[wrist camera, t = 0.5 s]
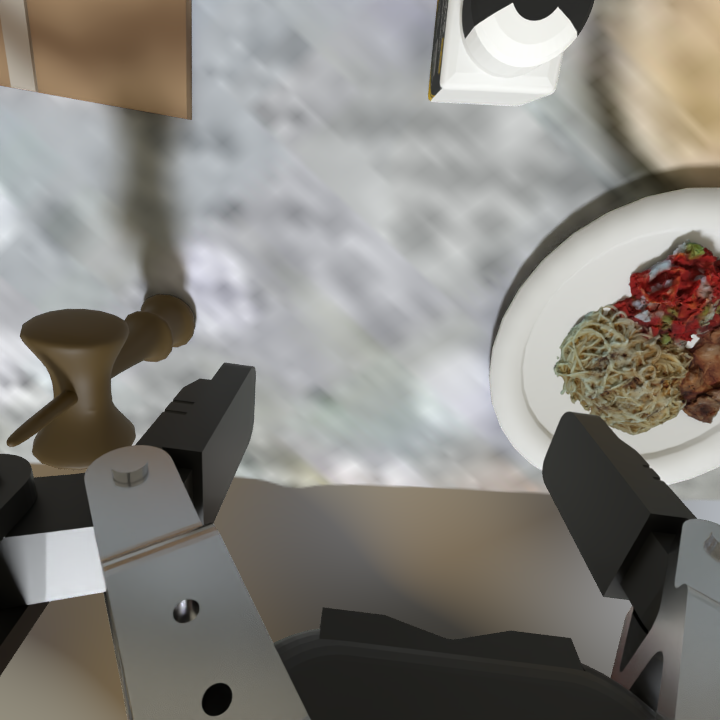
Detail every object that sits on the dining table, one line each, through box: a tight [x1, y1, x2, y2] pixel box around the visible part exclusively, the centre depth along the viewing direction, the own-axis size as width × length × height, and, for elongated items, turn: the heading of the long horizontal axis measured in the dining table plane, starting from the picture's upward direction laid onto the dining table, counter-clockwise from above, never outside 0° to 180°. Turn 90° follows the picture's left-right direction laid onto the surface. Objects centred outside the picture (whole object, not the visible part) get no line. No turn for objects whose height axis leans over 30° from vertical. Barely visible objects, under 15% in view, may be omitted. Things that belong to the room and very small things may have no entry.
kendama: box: [7, 294, 195, 470], centre depth 32 cm, size 6×10×20 cm, turn 169°
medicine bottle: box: [428, 0, 594, 106], centre depth 26 cm, size 7×7×12 cm
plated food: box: [489, 187, 720, 485], centre depth 40 cm, size 30×30×3 cm
